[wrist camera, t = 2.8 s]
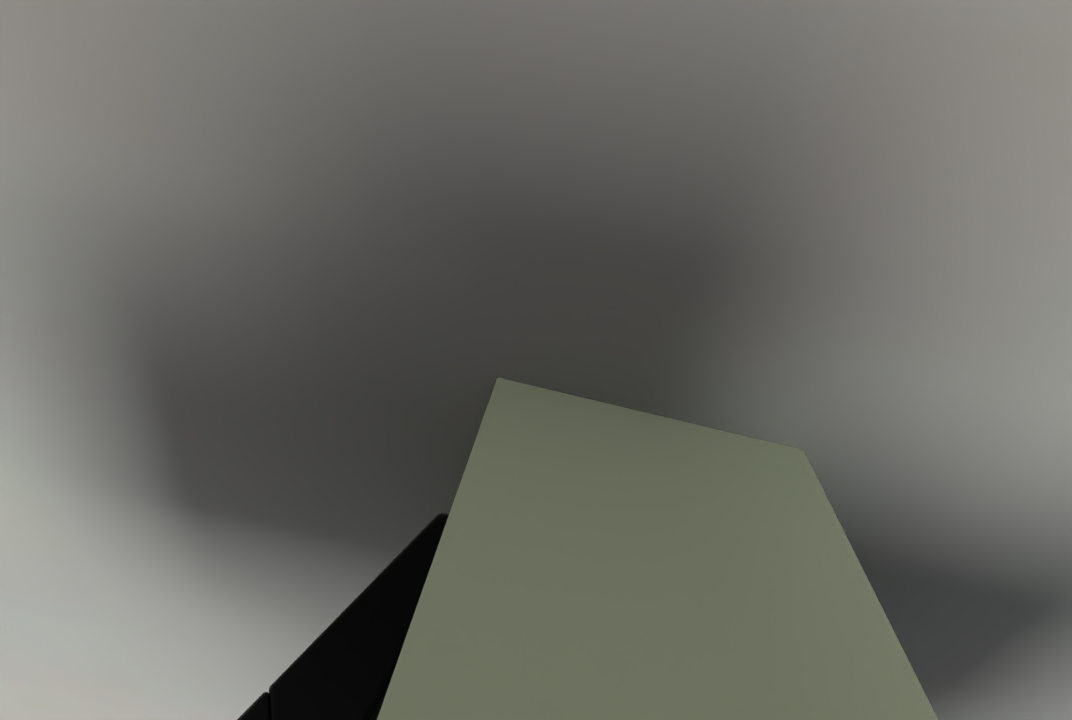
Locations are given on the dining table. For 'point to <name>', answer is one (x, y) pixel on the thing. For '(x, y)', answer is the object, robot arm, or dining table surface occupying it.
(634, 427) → the sage cube
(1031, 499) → the dining table surface
